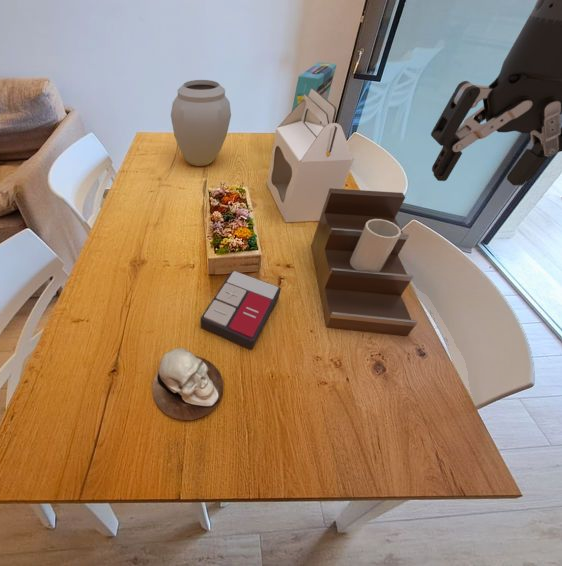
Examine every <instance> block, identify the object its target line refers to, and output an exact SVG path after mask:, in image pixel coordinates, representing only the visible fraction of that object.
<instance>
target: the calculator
mask: <svg viewBox="0 0 562 566" xmlns="http://www.w3.org/2000/svg"><path fill="white" fill-rule="evenodd" d="M281 290H282V288H281V287H280V286H278V285H275V284H272V283H270V282H267V281H264V280H262V279H258V278H256V277H253V276H250V275H248V274H245V273H242V272H239V271H236V270H231V272H230V273H229V275H228V276H227V278H226V280H224V282H223V284H222V285H221V287H220V288H219V290H218V291H217V293H216V294H215V296H214V297H213V299H212V300H211V302H210V303H209V305H208V306H207V307H206V309H205V311H204V312H203V314H202V315H201V317H200V328H201V329H203V330H205V331H207V332H210V333H211V334H214V335H216V336H219V337H221V338H223V339H225V340H228V341H229V342H232V343H234V344H236V345H239V346H240V347H242V348H245V349H248V350H250V351H251V350H253V349H254V347H255V345H256V343H257V342H258V340H259V338H260V335H261V333H262V331H263V330H264V327H265V326H266V324H267V321H268V320H269V317H270V316H271V313H272V312H273V311H274V309H275V307H276V305H277V303H278V301H279V298H280V294H281Z"/></svg>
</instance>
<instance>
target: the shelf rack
mask: <svg viewBox="0 0 562 566" xmlns="http://www.w3.org/2000/svg"><path fill="white" fill-rule="evenodd" d="M405 200H406V195H405V194H404V193H403V192H395V191H379V190H366V189H365V190H364V189H363V190H362V189H347V188H346V189H345V188H343V189H333V188H330V189H329V192H328V195H327V198H326V201H325V204H324V207H323V210H322V213H321V216H320V220H319V221H318V223H317V226H316V229H315V232H314V235H313V239H312V241H311V245H310V248H311V255H312V259H313V265H314V269H315V274H316V275H315V276H316V280H317V285H318V291H319V297H320V302H321V307H322V312H323V317H324V323H325V327H326V328H327V329H337V330H345V331H346V330H347V331H354V332H355V331H356V332H364V333H375V334H384V335H391V336H392V335H393V336H402V337H408V336H409V335H410V333H411V332H412V331H413V329H414V328H415V327H416V326H417V324H418V320H416V319H415V320H413V319H412V317H411V315H410V312H409V310H408V308H407V306H406V304H405V301H404V298H403V297H402V295H403V294H404V292H405V290H406V289H407V288H408V286H409V285H410V283H411V282H412V280H413V279H414V275H413V274H408V273H407V271H406V269H405V266H404V265H403V263H402V260H401V258H400V256H399V254H400V252H401V251H402V249H403V247H404V246H405V243H406V242H407V240H408V239H409V237H410V234H409V233H404V232H403V230H402V228H401V226H400V224H399V223H398V221H397V219H396V217H397V215H398V213H399V211H400V209H401V207H402V205H403V203H404V201H405ZM372 219H382V220H387V221H390V222H392V223H394V224H395V225H397V226H398V227H399V228H400V230H401V235H400V237H399V238H398V240H397V242H396V244H395V246H394V247H393V249H392V251H391V253H390V255H389V257H388V258H387V260H386V262H385V264H384V266H383V268H382V269H381V271H380V272H370V271H359V270H356V269H354V268H353V267H352V266H351V264H350V258H351V256H352V253H353V251H354V249H355V247H356V244H357V242H358V240H359V238H360V235H361V233H362V231H363V229H364V226H365V224H366V222H368V221H369V220H372Z"/></svg>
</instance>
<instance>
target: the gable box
mask: <svg viewBox="0 0 562 566" xmlns="http://www.w3.org/2000/svg"><path fill="white" fill-rule="evenodd" d="M304 97H305V99H304V100H303V101H301V102H300V103H299V104H298V105H297V106H296V107H295V109H294V110H293V111H292V110H291V112H290V113H289V114H288V115H287V116H286V117H285V119H283V121H282V122H281V123H280V124H279V125H278V126H277V127H276V128H275V133H274V139H273V145H272V149H271V150H272V151H271V156H270V163H269V168H268V173H267V180H266V186H267V188H268V190H269V192H270V194H271V197H272V198H273V200H274V202H275V204H276V207H277V208H278V211H279V212H280V215H281V217H282V219H283V221H284V223H303V222H304V223H306V222H319V220H320V216H321V213H322V210H323V207H324V204H325V201H326V198H327V195H328V192H329V189H330V188H333V189H345V185H346V182H347V179H348V176H349V174H350V171H351V167H352V166H353V163H354V159H355V158H353V156H352V152H351V150H350V145H349V144H348V141H347V139H346V135H345V132H344V130H343V127H342V126H341V124H340V123H337V122H335V121H336V115H337V107H336V106H335V105H334V104H333V103H332V102H330V101H329V100H327V99H326V98H324V97H323V96H322V95H321V94H320V93H318V92H317V91H316V90H315V89H311V90H310V93H309V96H307V95H306V94H305V93H304ZM300 120H301V121H300ZM320 121H321V122H322V123H321V124H320ZM322 124H323V125H324V126H322ZM328 153H329V154H328ZM327 154H328V155H327Z"/></svg>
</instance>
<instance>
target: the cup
mask: <svg viewBox="0 0 562 566" xmlns="http://www.w3.org/2000/svg"><path fill="white" fill-rule="evenodd" d="M400 228H401V227H400ZM400 228H399V227H398V226H397V225H395V224H394V223H392V222H390V221H387V220H382V219H372V220H369V221H368V222H366V224H365V226H364V229H363V231H362V233H361V235H360V238H359V240H358V242H357V244H356V247H355V249H354V251H353V253H352V256H351V258H350V264H351V266H352V267H353V268H354V269H356V270H359V271H370V272H380V271H381V269H382V268H383V266H384V264H385V262H386V260H387V258H388V257H389V255H390V253H391V251H392V249H393V247H394V246H395V244H396V242H397V240H398V238H399V237H400V235H401V230H402V229H401V230H400Z"/></svg>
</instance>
